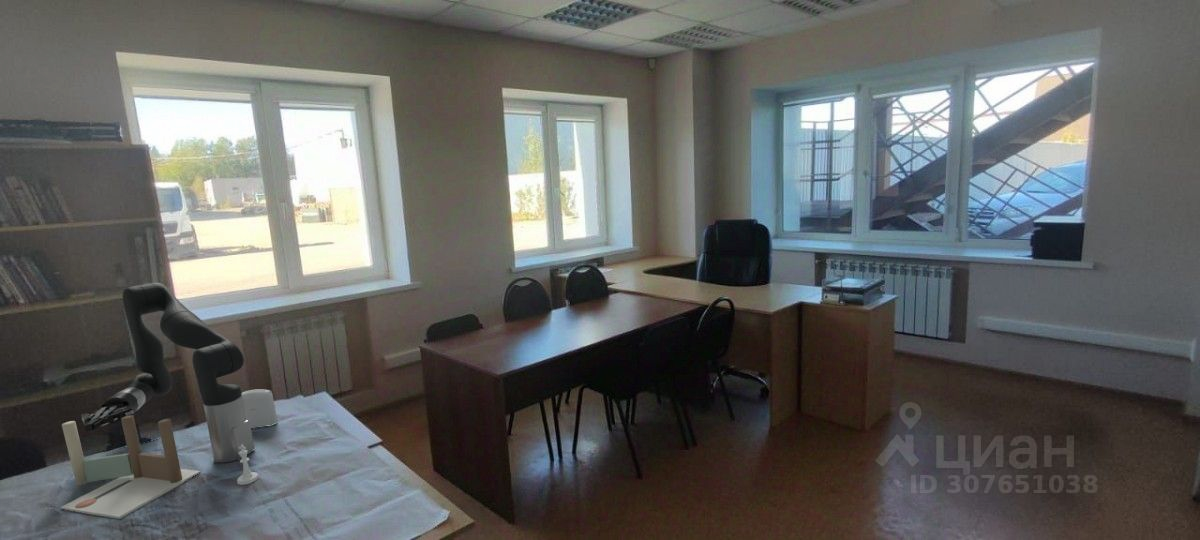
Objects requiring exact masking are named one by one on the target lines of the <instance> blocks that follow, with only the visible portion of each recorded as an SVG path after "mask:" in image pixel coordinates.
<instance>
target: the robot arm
mask: <svg viewBox="0 0 1200 540" xmlns="http://www.w3.org/2000/svg"><path fill="white" fill-rule="evenodd" d="M121 297H122V306H123V309H124V312H125V316H126V320H127V323H128V327H129V331H130V334H131V337H132V340H133V344H134V352H135V360H136V368H137V370H139V371H140V372H142V373H139V374H137V375H135V376H134V378H133V379H132V381H131V383H130V384H129V386H127V387H126V388H125V389H122V390H120V391H118V392H117V393H115V394H113V395H112V396H111V397H109V398H107V399H106V400H104V402H103V403H102V405H101V407H100V409H97V410H95V411H94V412H93V413H91V414H90V413H82V414H81V419H82V423H83V424H84V431H85V432H86V433H88V432H95V430H98V429H99V428H100V427H104V426H106V425H108V424H109V425H113V424H115V423H116V424H117V422H122V421H121V418H123V417H125V416H129V415H133V416H134V413H135V412H137V411H138V410H140V409H141V407H142V406H143V405H145V404H146V403H147V402H149V401H150V400H151V399H152V398H153V396H165V395H167V394H169V392H170V391H172V388H173V378H172V375H171V373H170V371H169V370H168V367H167V365H166V363H165V358H164V346H163V344H162V341H161V340H160V338H158V337H157V335H155V334H154V333H153V332H152V331H151V330H149V329H148V327H146V325H145V324H144V322H143V320H142V316H143V315H147V314H152V313H156V312H162V313H163V314H162V316H161V318H160V323H159V327H160V331H161V332H162V334H163V335H164V336H165V337H166V338H167V339H169V340H170V342H172V343H174V344H175V345H177V346H180V347H183V348H187V349H191V350H195V351H194V352H193V354H192V365H193V370H194V373H195V377H196V381H197V385H198V390H199V393H200V394H199V395H200V396H201V399H202V404H203V409H204V414H205V420H206V425H207V430H208V435H209V440H210V445H211V446H210V447H211V451H212V452H211V453H212V456H213V461H214V462H216V463H219V464H220V463H229V462H233V461H240V460H241V459H242V458H241V456H240V455H239V452H240V451H241V449H239V447H241V445H243V446H244V447H246V449H244V450H247V451H248V453H249V452H251V451H252V450H253V449H255V444H254V438H253V433H252V429H251V426H250V421H249V420H246V416H245V410H244V405H243V399H242V393H243V392H242V389H241V386H240V385H238V384H234V383H233V384H232V383H219V382H218V380H217V379H219V378H221V377H224V376H227V375H228V376H229V375H230V374H234V373H236V372H238V371H239V370H241V368H242V367H243V365H244V363H245V358H244V355H243V353H242V351H241V349H240V348H239V346H238V345H236V344H235V343H234V342H233V341H231V340H230V339H228V338H227V337H225V336H223V335H221V334H220V333H219V332H217V331H215V330H214V329H212V327H210V326H208V325H207V323H205V321H203V320H202V319H201V318H200V317H198V316H197V314H195V313H194V312H192V311H191V310H189V309H188V308H187V307H186V306H185V305H184V304H183V303H181V302H180V301H179V299H178V298H177V297H176V296H175V295H174V294H173V293H172V291H170V289H169V287H167V286H166V285H165V284H163V283H160V282H149V283H144V284H139V285H133V286H128V287H126V288H124V290H123V292H122V296H121ZM252 452H253V451H252ZM252 452H251V453H252ZM248 453H247V454H248ZM249 454H250V453H249ZM249 454H248V455H249Z"/></svg>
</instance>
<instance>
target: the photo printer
mask: <svg viewBox="0 0 1200 540" xmlns="http://www.w3.org/2000/svg"><path fill="white" fill-rule="evenodd" d="M241 393H242V399H243V405H244V410H245V416H246V420H249V421H250V426H251V428H253V429H255V428H254V427H259V426H266V425H272V424H274V423H276V422H277V423H278V416H277V411H276V406H275V399H274V395H273V394H274V393H273V392H272V390H269V389H260V388H259V389H258V388H257V389H251V390H250V389H249V390H246V391H243V392H241Z"/></svg>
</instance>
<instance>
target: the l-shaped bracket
mask: <svg viewBox="0 0 1200 540" xmlns="http://www.w3.org/2000/svg"><path fill="white" fill-rule="evenodd" d="M61 427H62V428H61V429H62V431H63V435H64V439H65V444H66V447H67V452H68V456H69V457H68V458H69V459H70V464H71V468H72V472H73V476H74V479H75V484H76V486H82V485H85V484H88V483H92V482H98V481H104V480H109V479H117V478H119V477H124V476H130V475H133V471H132V466H131V462H130V457H129V453H120V454H115V455H114V454H113V455H107V456H106V455H105V456H100V457H94V458H88V459H85V456H84V453H83V449H82V444H81V439H80V436H79V432H78V431H79V430H78V427H77V423H76V421H75V420H70V421H66V422H64V423H62V424H61Z"/></svg>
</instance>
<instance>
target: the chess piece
mask: <svg viewBox="0 0 1200 540" xmlns="http://www.w3.org/2000/svg"><path fill="white" fill-rule="evenodd" d="M239 449H241V451H240V452H239V455H240V456H241V458H242V459H240V460H239V462H240V464H242V475H240V476H239V477H238V478H237V480H236V482H237V483H236V484H237V485H238V486H239V485H241V486H242V485H249V484H251V483H254V482H255V481H257V480H258V479H259V477H260V476H259V474H258V472H254V471H251V469H250V466H249V463H248V462H249V461H250V457H247V456H248V455H247V453H248V451H247V450H244V449H246V447H244V446H243V445H241V447H239Z"/></svg>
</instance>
